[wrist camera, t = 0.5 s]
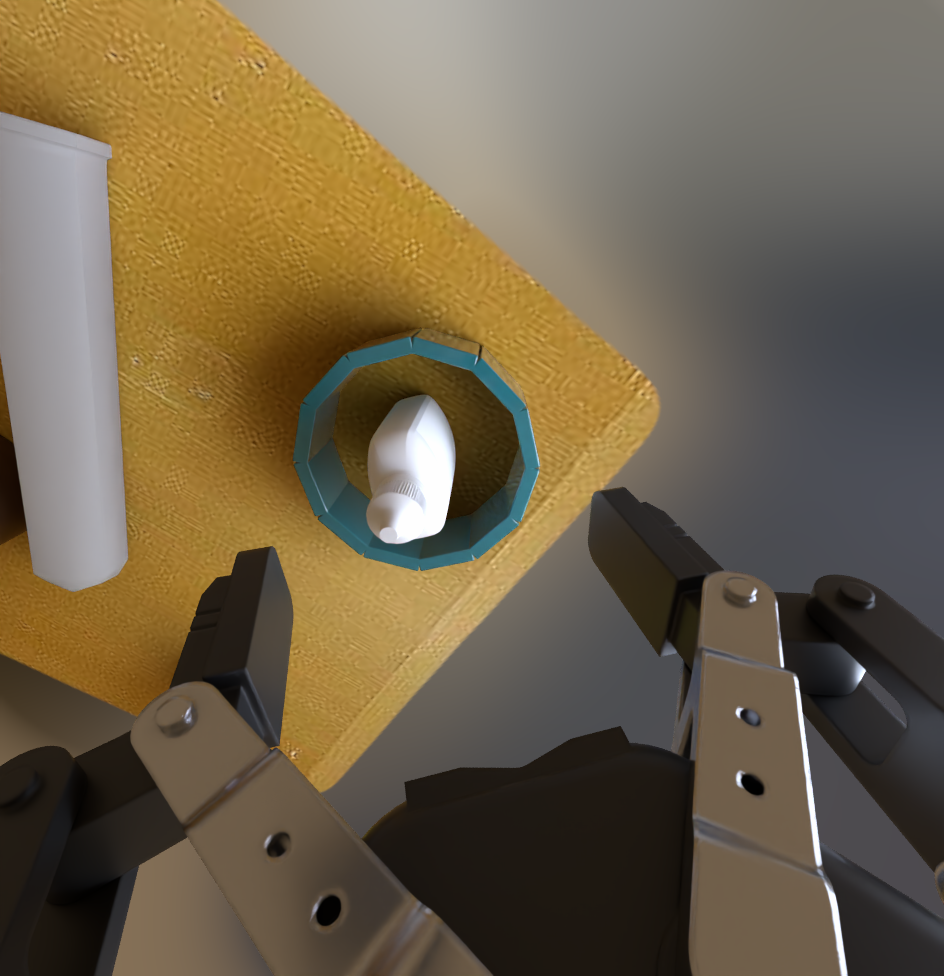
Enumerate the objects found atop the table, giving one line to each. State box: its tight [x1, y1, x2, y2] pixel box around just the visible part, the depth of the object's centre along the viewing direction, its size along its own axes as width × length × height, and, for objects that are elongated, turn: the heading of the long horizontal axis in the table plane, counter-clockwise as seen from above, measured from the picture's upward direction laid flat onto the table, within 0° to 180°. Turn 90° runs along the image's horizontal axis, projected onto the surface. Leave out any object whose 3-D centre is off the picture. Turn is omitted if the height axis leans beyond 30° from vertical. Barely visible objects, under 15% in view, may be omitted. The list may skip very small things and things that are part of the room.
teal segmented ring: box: [293, 328, 540, 571], centre depth 28 cm, size 13×13×4 cm
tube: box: [0, 112, 128, 592], centre depth 27 cm, size 5×5×25 cm
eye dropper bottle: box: [366, 395, 456, 544], centre depth 24 cm, size 4×6×12 cm
